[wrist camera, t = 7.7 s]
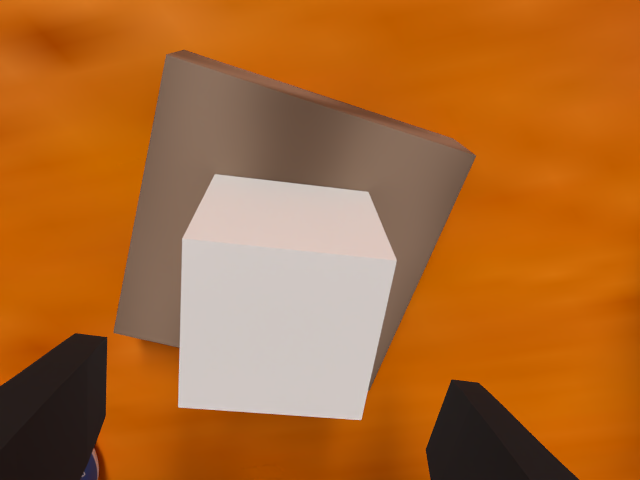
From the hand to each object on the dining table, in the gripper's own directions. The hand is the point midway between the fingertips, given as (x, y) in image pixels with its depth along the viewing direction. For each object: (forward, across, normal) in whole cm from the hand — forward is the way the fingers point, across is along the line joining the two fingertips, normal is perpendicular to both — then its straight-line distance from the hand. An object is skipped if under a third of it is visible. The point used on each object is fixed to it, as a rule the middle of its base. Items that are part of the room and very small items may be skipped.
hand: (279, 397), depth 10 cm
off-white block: (+7, 0, 0) cm, 7 cm away
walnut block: (+10, 0, 0) cm, 10 cm away
